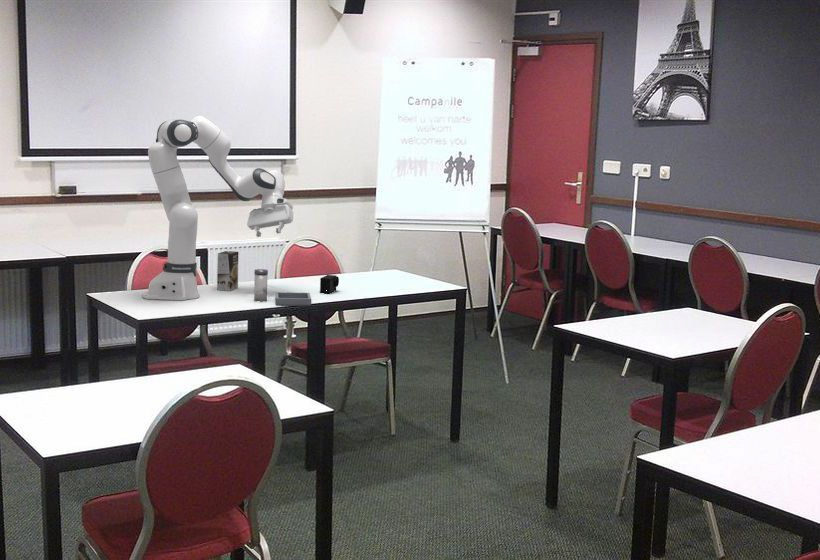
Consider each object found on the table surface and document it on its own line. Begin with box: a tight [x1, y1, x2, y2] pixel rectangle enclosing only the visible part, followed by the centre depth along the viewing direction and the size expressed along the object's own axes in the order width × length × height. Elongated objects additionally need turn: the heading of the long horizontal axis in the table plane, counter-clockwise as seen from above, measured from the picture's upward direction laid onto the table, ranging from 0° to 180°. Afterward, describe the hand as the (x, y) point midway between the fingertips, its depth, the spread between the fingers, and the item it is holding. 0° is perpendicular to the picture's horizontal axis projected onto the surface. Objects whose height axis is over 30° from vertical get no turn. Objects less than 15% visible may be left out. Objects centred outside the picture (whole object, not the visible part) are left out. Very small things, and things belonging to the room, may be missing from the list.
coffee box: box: [216, 250, 239, 292], centre depth 414 cm, size 9×6×16 cm
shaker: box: [253, 268, 269, 303], centre depth 391 cm, size 5×5×13 cm
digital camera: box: [319, 274, 340, 295], centre depth 418 cm, size 10×5×7 cm, turn 168°
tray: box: [274, 291, 312, 307], centre depth 390 cm, size 14×14×3 cm
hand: (268, 234), depth 397 cm, fingers open, 8 cm apart
